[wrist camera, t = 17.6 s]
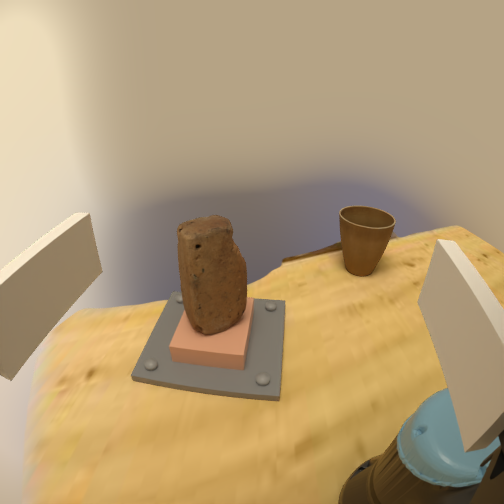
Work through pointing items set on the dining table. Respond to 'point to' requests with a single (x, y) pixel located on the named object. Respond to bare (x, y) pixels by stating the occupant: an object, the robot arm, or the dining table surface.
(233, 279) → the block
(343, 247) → the plant pot
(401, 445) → the robot arm
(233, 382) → the tower base
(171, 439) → the dining table surface
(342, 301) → the dining table surface
